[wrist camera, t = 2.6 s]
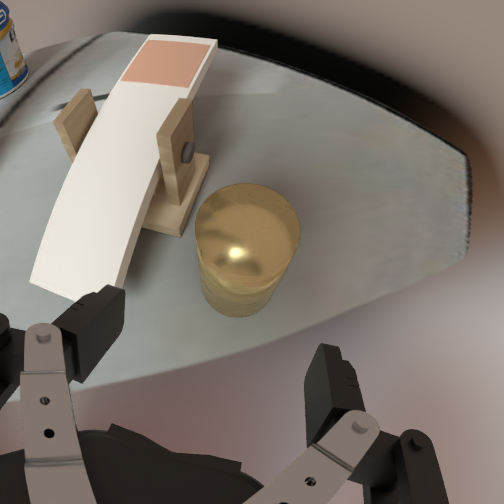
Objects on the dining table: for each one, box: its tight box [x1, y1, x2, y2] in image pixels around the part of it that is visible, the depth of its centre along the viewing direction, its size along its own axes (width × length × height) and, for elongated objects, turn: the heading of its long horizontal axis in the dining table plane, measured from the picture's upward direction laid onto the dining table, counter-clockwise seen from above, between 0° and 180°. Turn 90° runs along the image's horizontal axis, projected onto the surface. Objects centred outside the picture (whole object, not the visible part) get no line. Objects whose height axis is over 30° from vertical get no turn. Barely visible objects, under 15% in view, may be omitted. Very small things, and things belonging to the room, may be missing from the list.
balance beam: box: [30, 34, 218, 301], centre depth 22 cm, size 7×25×2 cm, turn 167°
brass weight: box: [195, 183, 300, 318], centre depth 21 cm, size 6×6×9 cm
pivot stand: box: [53, 89, 209, 238], centre depth 23 cm, size 11×8×10 cm
